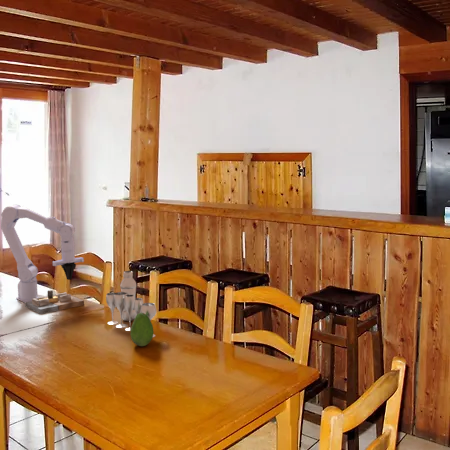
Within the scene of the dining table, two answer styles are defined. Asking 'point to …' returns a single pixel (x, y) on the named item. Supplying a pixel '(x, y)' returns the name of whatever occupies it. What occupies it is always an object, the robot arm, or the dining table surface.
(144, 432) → the dining table surface
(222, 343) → the dining table surface
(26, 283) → the robot arm
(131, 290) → the plastic bottle
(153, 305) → the goblet set
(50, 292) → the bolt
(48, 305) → the two-tone tabbed panel
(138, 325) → the avocado
